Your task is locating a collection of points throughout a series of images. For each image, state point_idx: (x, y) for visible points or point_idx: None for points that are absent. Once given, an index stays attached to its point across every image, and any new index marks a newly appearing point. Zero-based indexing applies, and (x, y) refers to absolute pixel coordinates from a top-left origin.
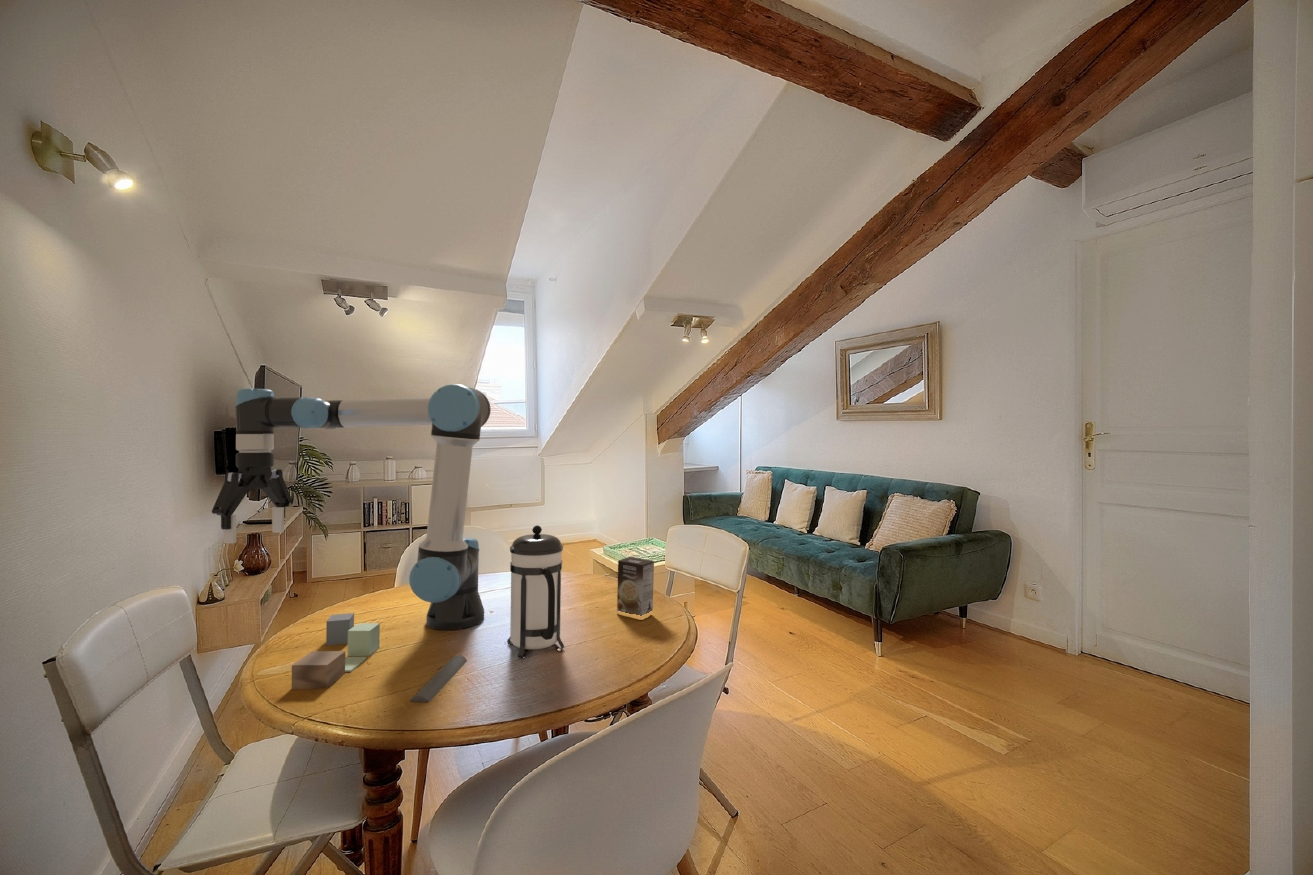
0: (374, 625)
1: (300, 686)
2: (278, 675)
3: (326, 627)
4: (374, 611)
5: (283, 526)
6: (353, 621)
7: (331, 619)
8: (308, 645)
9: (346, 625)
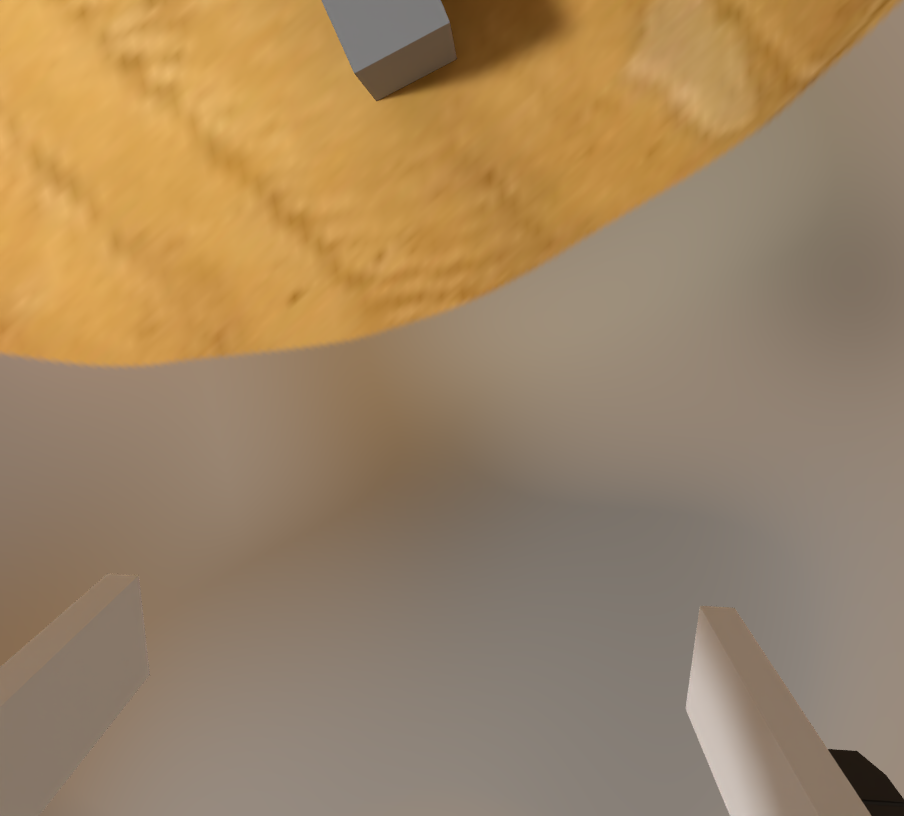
0: None
1: None
2: (760, 22)
3: (450, 33)
4: (35, 145)
5: (71, 610)
6: None
7: (419, 17)
8: (465, 142)
9: None
